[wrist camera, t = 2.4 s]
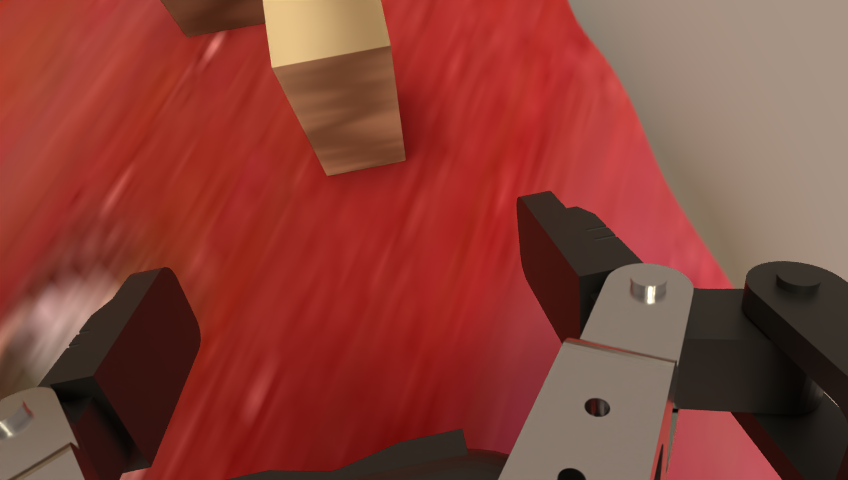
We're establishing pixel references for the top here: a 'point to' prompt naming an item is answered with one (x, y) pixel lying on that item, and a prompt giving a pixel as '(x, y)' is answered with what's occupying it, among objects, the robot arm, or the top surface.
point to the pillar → (338, 79)
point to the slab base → (214, 14)
